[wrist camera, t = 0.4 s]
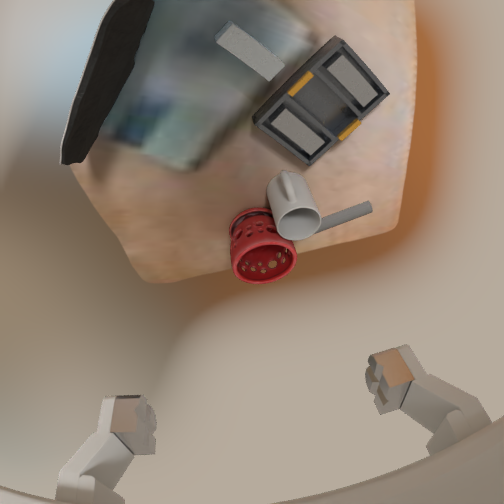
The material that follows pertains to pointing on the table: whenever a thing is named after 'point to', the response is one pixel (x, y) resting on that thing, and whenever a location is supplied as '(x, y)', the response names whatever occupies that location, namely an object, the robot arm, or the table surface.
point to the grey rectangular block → (249, 50)
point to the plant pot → (259, 247)
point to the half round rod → (345, 216)
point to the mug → (293, 206)
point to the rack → (321, 102)
